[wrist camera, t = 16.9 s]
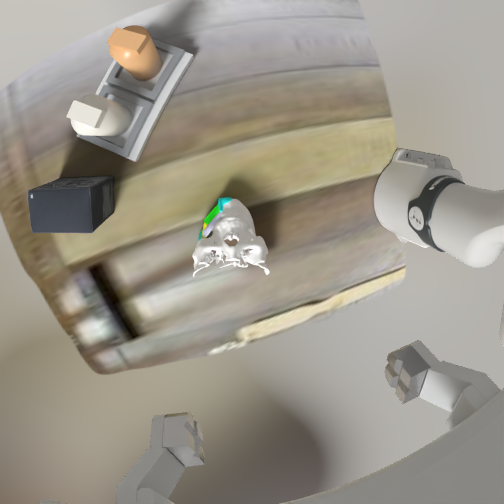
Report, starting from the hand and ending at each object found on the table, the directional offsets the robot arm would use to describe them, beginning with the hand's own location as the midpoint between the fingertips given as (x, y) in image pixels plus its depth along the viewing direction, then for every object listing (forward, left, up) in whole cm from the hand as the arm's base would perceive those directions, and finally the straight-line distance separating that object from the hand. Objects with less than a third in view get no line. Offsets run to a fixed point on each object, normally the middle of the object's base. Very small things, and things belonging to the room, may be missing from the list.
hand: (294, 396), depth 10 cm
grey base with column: (+10, -20, -37) cm, 43 cm away
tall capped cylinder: (+7, -23, -35) cm, 43 cm away
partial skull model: (+1, +5, -37) cm, 38 cm away
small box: (+22, -7, -37) cm, 44 cm away
